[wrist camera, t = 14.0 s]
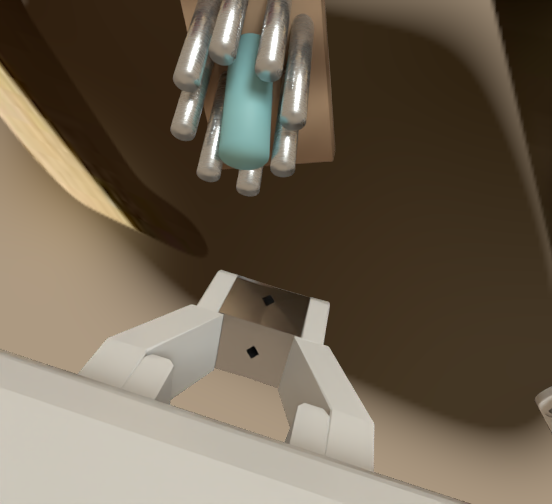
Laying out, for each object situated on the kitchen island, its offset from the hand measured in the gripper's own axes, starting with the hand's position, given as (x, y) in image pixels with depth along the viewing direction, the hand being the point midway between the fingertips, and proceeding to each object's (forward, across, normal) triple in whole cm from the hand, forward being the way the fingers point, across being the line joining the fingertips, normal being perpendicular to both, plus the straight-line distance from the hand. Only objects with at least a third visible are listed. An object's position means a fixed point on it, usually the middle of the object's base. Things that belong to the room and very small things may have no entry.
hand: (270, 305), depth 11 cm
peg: (+23, +7, -3) cm, 24 cm away
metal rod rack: (+27, +7, -2) cm, 28 cm away
